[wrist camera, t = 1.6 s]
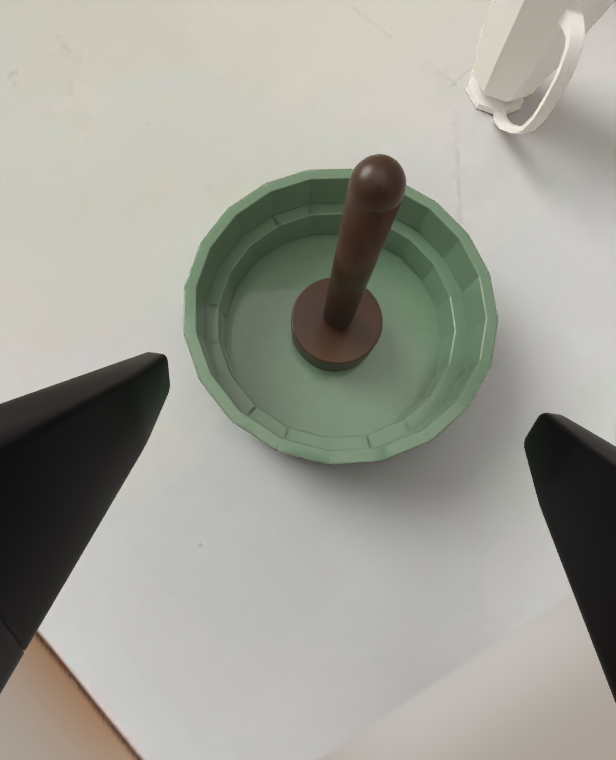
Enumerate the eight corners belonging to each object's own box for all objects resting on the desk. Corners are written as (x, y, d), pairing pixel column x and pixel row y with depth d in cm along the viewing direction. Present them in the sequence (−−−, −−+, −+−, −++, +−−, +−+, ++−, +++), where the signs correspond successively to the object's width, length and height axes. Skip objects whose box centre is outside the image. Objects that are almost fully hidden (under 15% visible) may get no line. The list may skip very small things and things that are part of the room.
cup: (536, 55, 27) (634, -108, 19) (554, 169, 25) (672, 38, 17) (444, 51, 27) (504, -116, 19) (454, 166, 25) (527, 31, 17)
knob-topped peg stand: (389, 353, 21) (512, 216, 9) (309, 384, 21) (330, 279, 9) (356, 280, 22) (428, 67, 10) (279, 307, 22) (259, 116, 10)
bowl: (500, 404, 22) (552, 390, 17) (256, 505, 20) (246, 517, 16) (394, 193, 24) (416, 135, 20) (173, 266, 23) (144, 219, 18)
